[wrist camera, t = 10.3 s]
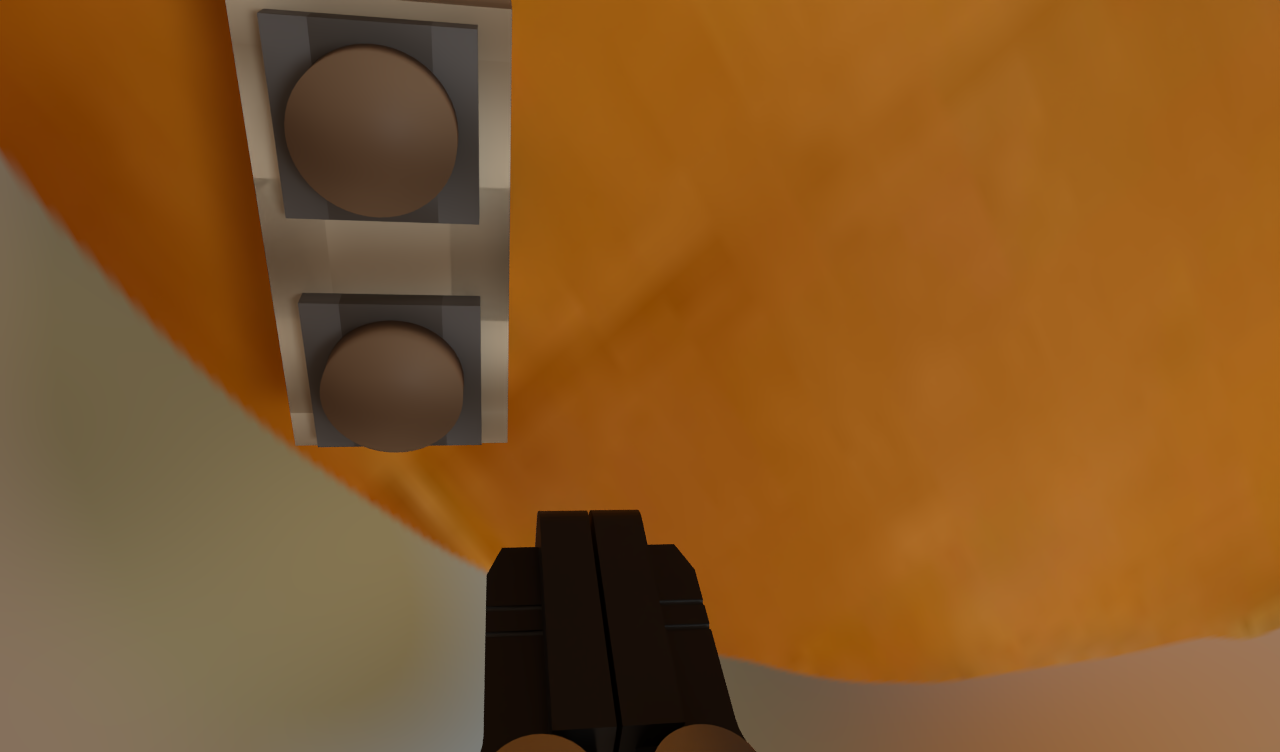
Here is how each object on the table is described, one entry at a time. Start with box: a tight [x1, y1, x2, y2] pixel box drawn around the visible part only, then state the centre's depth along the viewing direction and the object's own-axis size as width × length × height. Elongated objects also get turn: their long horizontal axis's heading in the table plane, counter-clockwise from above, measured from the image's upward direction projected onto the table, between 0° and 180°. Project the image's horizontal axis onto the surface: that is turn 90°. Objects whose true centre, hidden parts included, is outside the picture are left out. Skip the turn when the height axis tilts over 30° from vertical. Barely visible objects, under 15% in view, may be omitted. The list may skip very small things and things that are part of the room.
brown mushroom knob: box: [320, 320, 464, 452], centre depth 31 cm, size 5×5×6 cm
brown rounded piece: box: [284, 44, 459, 217], centre depth 26 cm, size 5×5×6 cm
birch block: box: [225, 0, 512, 447], centre depth 29 cm, size 16×8×6 cm, turn 174°
